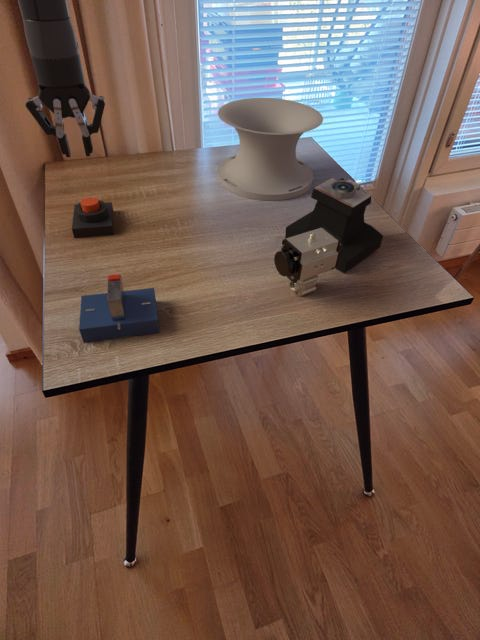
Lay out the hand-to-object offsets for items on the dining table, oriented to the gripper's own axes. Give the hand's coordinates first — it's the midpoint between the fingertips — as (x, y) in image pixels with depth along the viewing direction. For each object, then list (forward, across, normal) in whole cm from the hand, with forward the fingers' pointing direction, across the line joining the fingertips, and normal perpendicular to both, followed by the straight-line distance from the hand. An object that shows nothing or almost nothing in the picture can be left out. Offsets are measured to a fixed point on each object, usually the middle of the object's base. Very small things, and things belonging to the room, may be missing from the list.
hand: (78, 154), depth 80 cm
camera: (+15, +50, -16) cm, 55 cm away
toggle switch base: (+15, +5, -32) cm, 35 cm away
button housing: (+15, 0, 0) cm, 15 cm away
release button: (+12, 0, 0) cm, 12 cm away
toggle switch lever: (+12, +5, -32) cm, 34 cm away
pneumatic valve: (+15, +38, -30) cm, 50 cm away
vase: (+15, +43, +16) cm, 49 cm away
